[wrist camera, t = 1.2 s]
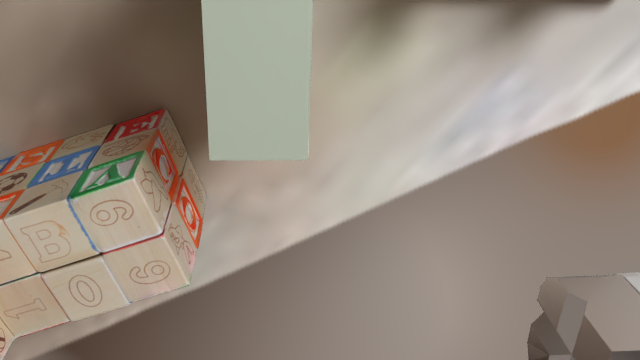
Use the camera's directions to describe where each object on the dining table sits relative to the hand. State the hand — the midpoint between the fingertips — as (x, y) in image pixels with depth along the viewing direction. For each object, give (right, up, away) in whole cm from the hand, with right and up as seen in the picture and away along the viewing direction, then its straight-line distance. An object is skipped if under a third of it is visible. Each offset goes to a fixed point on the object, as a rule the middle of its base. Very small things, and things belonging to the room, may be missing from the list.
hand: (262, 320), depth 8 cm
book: (-2, +11, +23) cm, 25 cm away
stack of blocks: (-17, +1, +27) cm, 32 cm away
